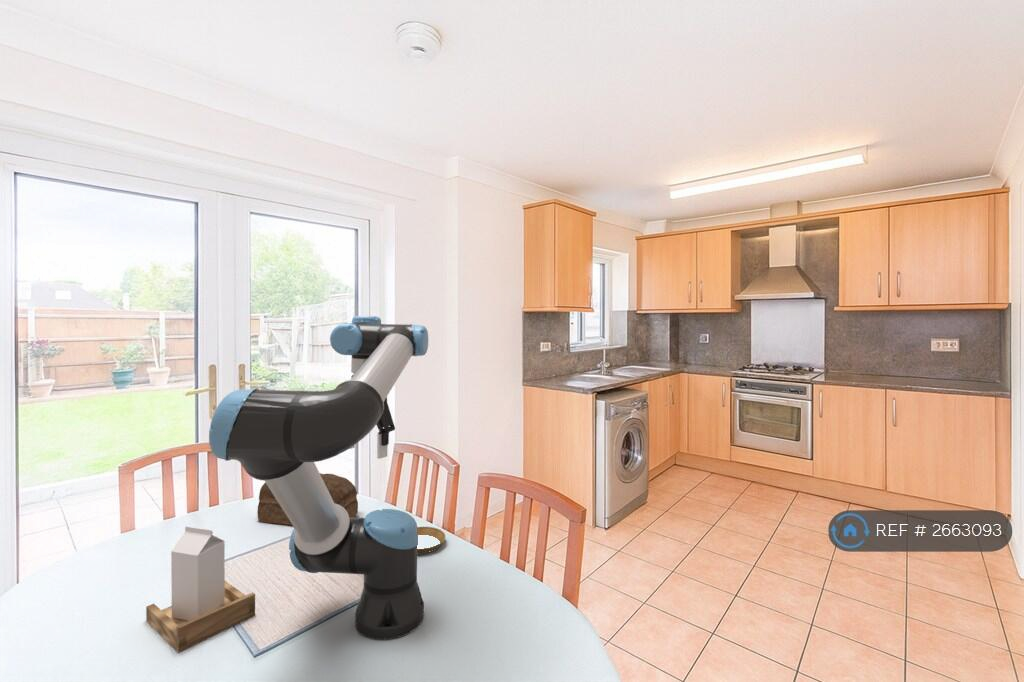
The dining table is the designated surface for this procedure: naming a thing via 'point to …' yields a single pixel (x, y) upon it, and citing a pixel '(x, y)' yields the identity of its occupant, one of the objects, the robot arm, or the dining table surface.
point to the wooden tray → (202, 620)
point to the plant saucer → (431, 532)
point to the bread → (336, 485)
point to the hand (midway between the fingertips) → (365, 453)
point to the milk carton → (197, 574)
